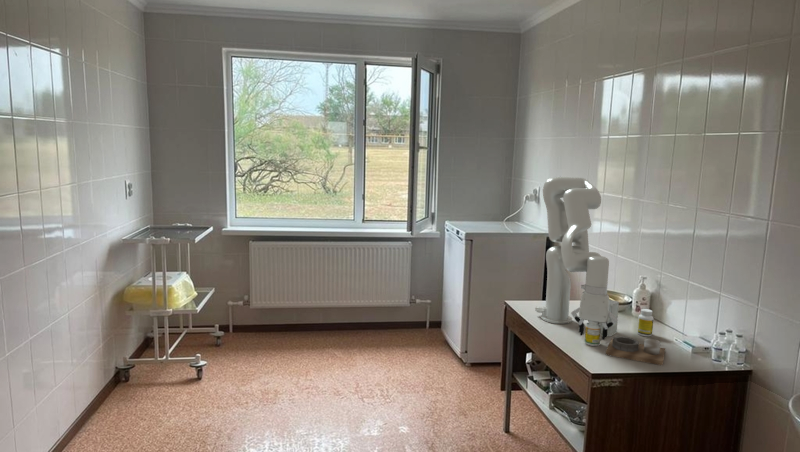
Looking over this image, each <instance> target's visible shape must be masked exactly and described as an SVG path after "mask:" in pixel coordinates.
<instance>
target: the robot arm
mask: <svg viewBox="0 0 800 452" xmlns="http://www.w3.org/2000/svg"><path fill="white" fill-rule="evenodd" d="M542 187H543V188H542V197H543V201H544V204H545V208H546V212H547V213H546V214H547V216H546V217H547V218H546V219H547V231H548V239H549V240H550V241H551V242H554V243H561V244H560V245H556V246H551V247H549V248H548V249H547V251H546V253H545V260H546V268H547V270H546V271H547V274H546V276H547V278H546V279H547V280H546V291H545V292H546V293H545V295H546V297H545V306H543V307H540V306H535V308H534V309H535V312H536V313H537V314H538V313H539V314H541V315H540V317H541V318H540V319H541V320H542V321H545V322H546V323H551V324H554V325H555V324H557V325H566V324H570V323H572V322H573V319H574V320H575V321H576V322H577V324H578V333H579V336H580V337H581V336H583V335H585V332H584V331H585V323H584V322H585V321H587V322H588V321H594V322H600V323H602V324H603V326H604V328H603V332H602V334H601V335H602V336H601V339H602V340H605V339H606V338H608V336H607V331H608V328H609V327H611V326H612V325H613V324H614V323H616V322H617V323H618V321H617V320H618V319H619V318H618V319H617V318H616V317H615V316H614V315H613V314H612V313H611V312H610V311H609V300H610V296H609V294H608V282H609V281H608V280H609V269H610V267H609V266H610V260H609V258H608V257H606V256H602V255H600V253H598V252H594V251H590V248H589V247H590V245H589V244H590V243H589V233H588V230H589V229H591V227H592V220H591V216H590V211H589V210H598V209H599V207H600V206H601V204H602V196H601V194H600V191H599V190H598V188H596V186H594V185H593V184H592V182H590V181H588V179H586V178H583V177H567V176H566V177H565V176H564V177H563V176H562V177H561V176H560V177H556V176H555V177H551V178H548V179H547V180H545V182H544V183H543V186H542ZM567 271H568V272H569V273H585V284H581V285H580V289H583V290H584V291H583V292H582V294H581V298H580V302H579V303H580V304H579V307H578V308H576V309H574V310H573V311H571V313H570V300H571V299H570V296H571V286H572V285H571V283H572V281H571V276H570V274H569V273H568V272H567ZM569 313H570V314H571V316H570V314H569ZM609 317H610V318H611V319H612V321H611V322H609V323H607V321H608V319H609Z"/></svg>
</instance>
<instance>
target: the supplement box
mask: <svg viewBox="0 0 800 452" xmlns="http://www.w3.org/2000/svg"><path fill="white" fill-rule="evenodd" d="M619 302H620V301H618V300H611V299H609V311H610V312H611V313H612V314H613V315H614V316H615V317H616V318H617V319H619V318H618V317H619ZM611 321H612V319H611V318H610V317H609V319H608V321H607V323H609V322H611ZM599 324H600V326H601V334H600V335H602V332H603V328H604V326H603V324H602V323H599ZM617 332H618V320H617V322H616V323H614V324H613V325H612V326H611V327H609V328H608V331H607V337H612V336H613V335H615V334H616V333H617Z"/></svg>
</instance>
